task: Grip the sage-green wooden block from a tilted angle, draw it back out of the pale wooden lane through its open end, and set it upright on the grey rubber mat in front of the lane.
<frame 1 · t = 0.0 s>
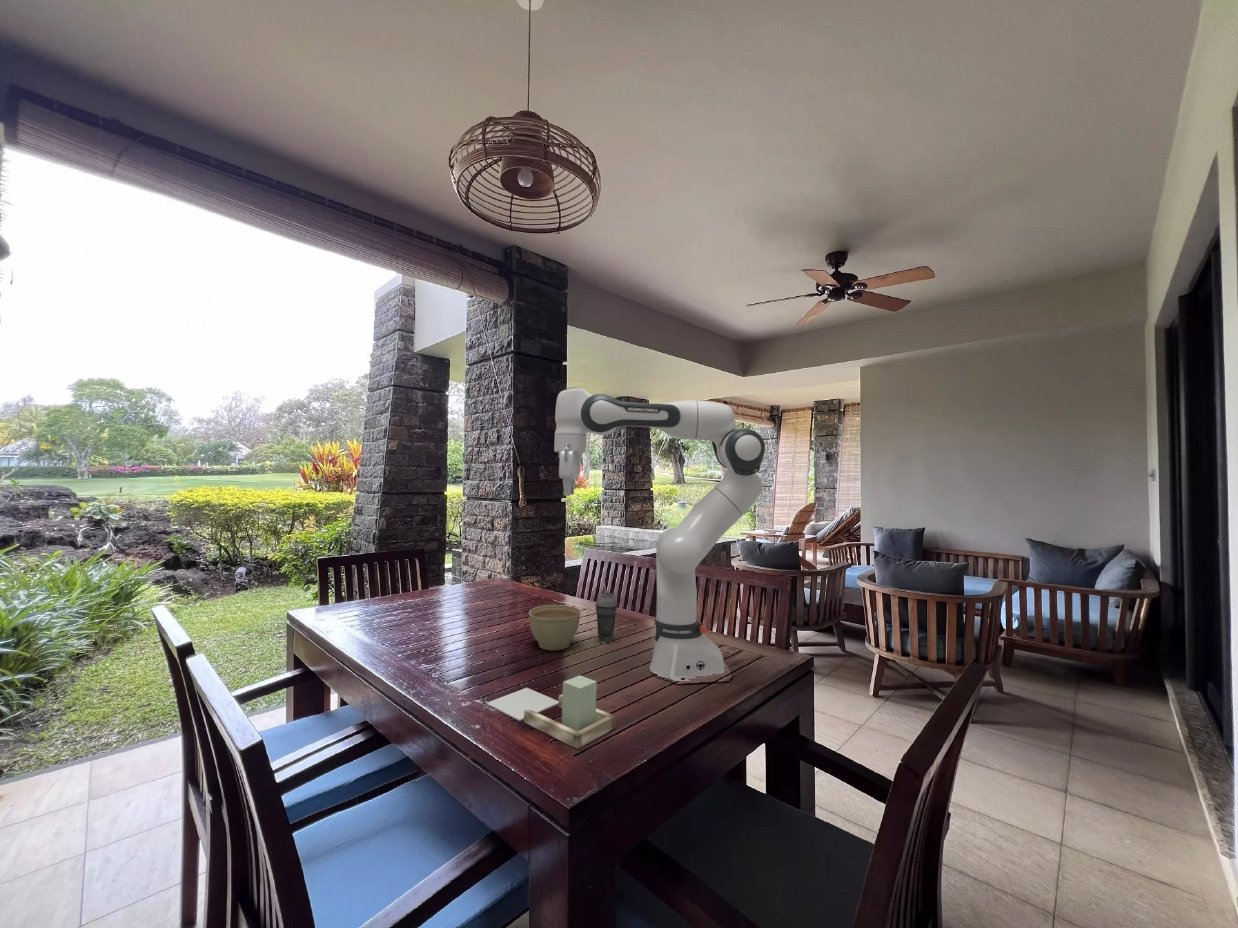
hand: (568, 495, 143), 48 cm above the table, tool pointing down, fingers open, 8 cm apart
planter bowl: (554, 646, 160), on the table
lane: (572, 726, 109), on the table
mat: (523, 703, 119), on the table
block: (578, 729, 107), resting in lane
beverage cup: (605, 641, 166), on the table
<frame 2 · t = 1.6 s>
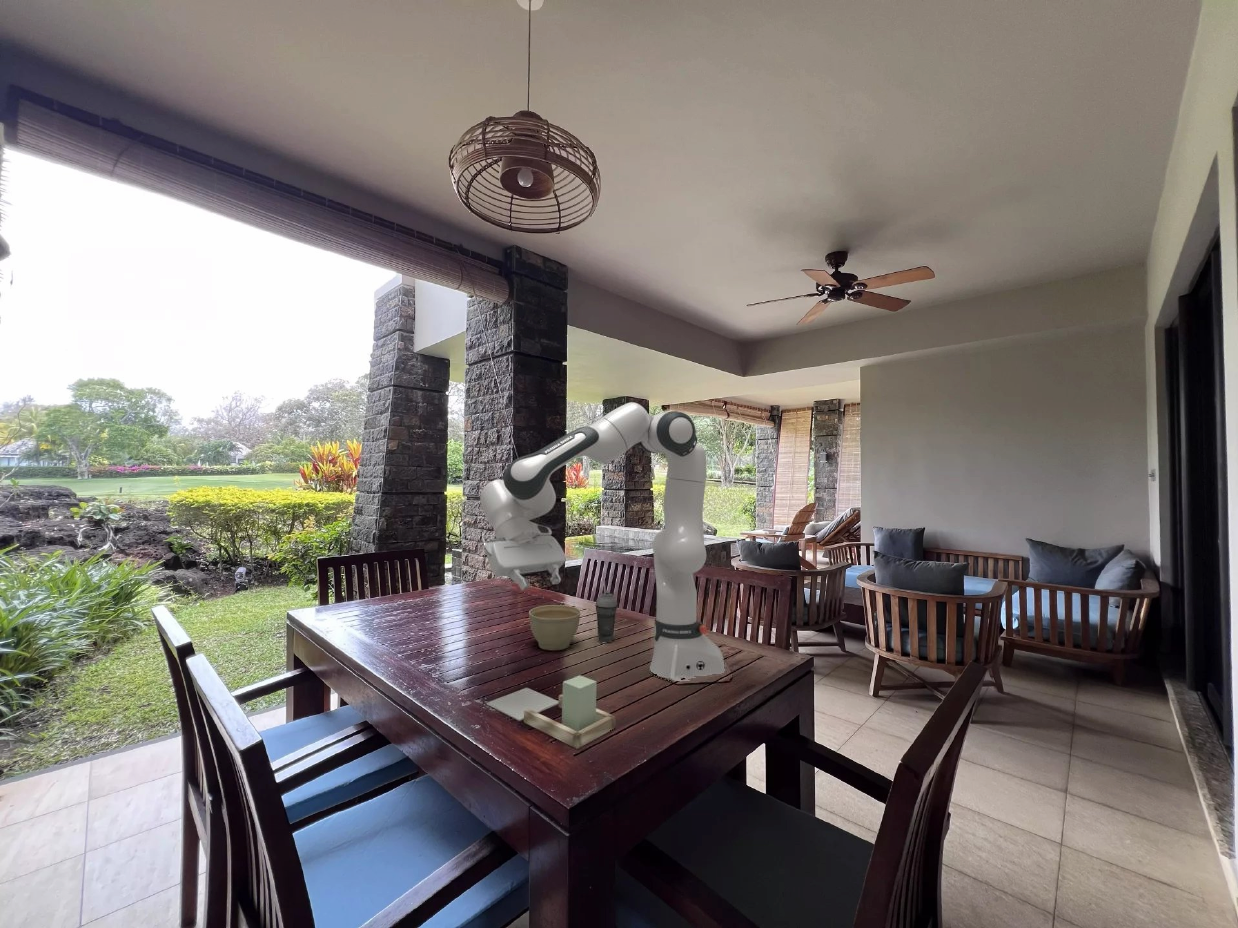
hand: (542, 585, 117), 28 cm above the table, tool tilted 45°, fingers open, 8 cm apart
nothing on the table moved.
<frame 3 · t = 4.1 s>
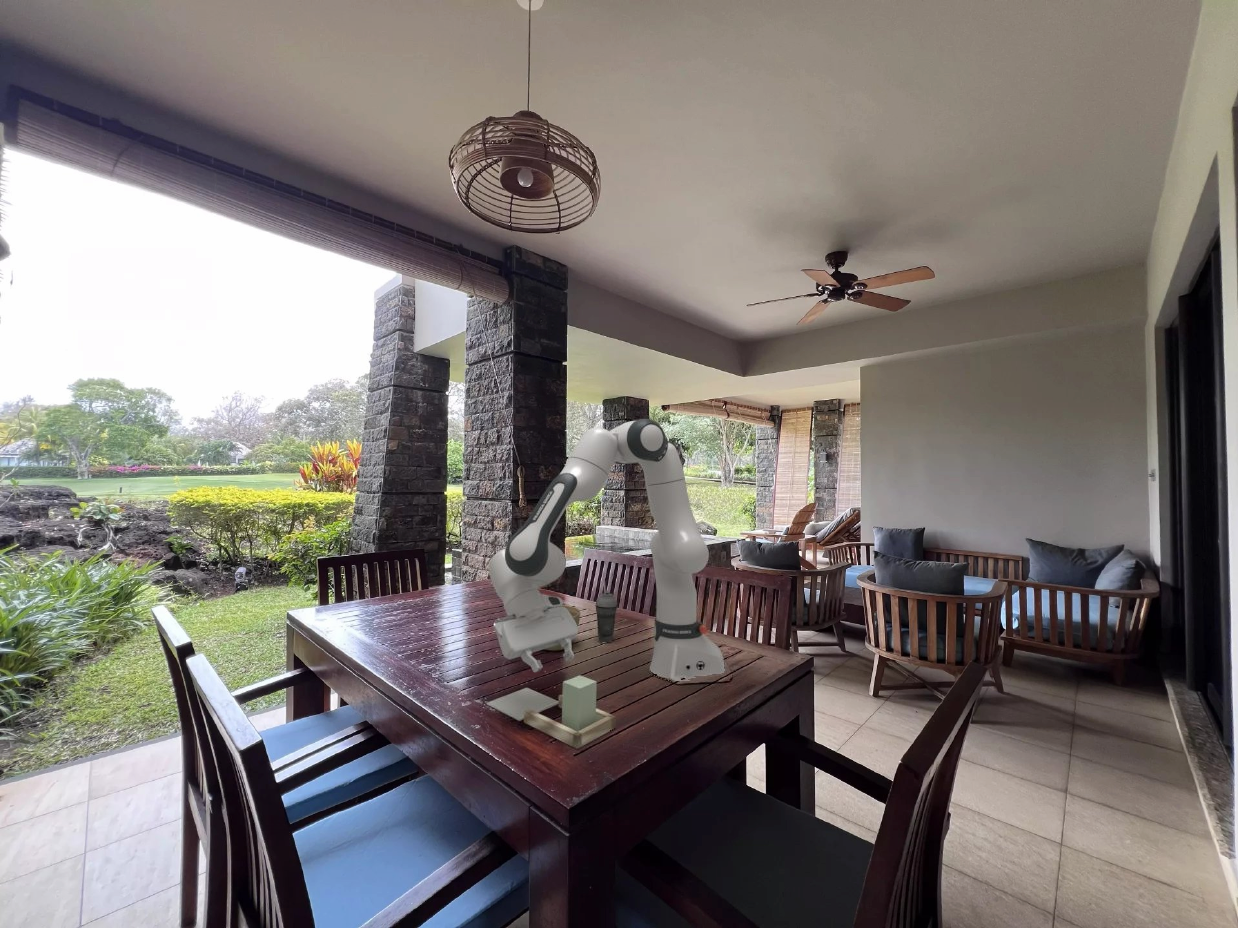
hand: (555, 664, 112), 12 cm above the table, tool tilted 45°, fingers open, 8 cm apart
nothing on the table moved.
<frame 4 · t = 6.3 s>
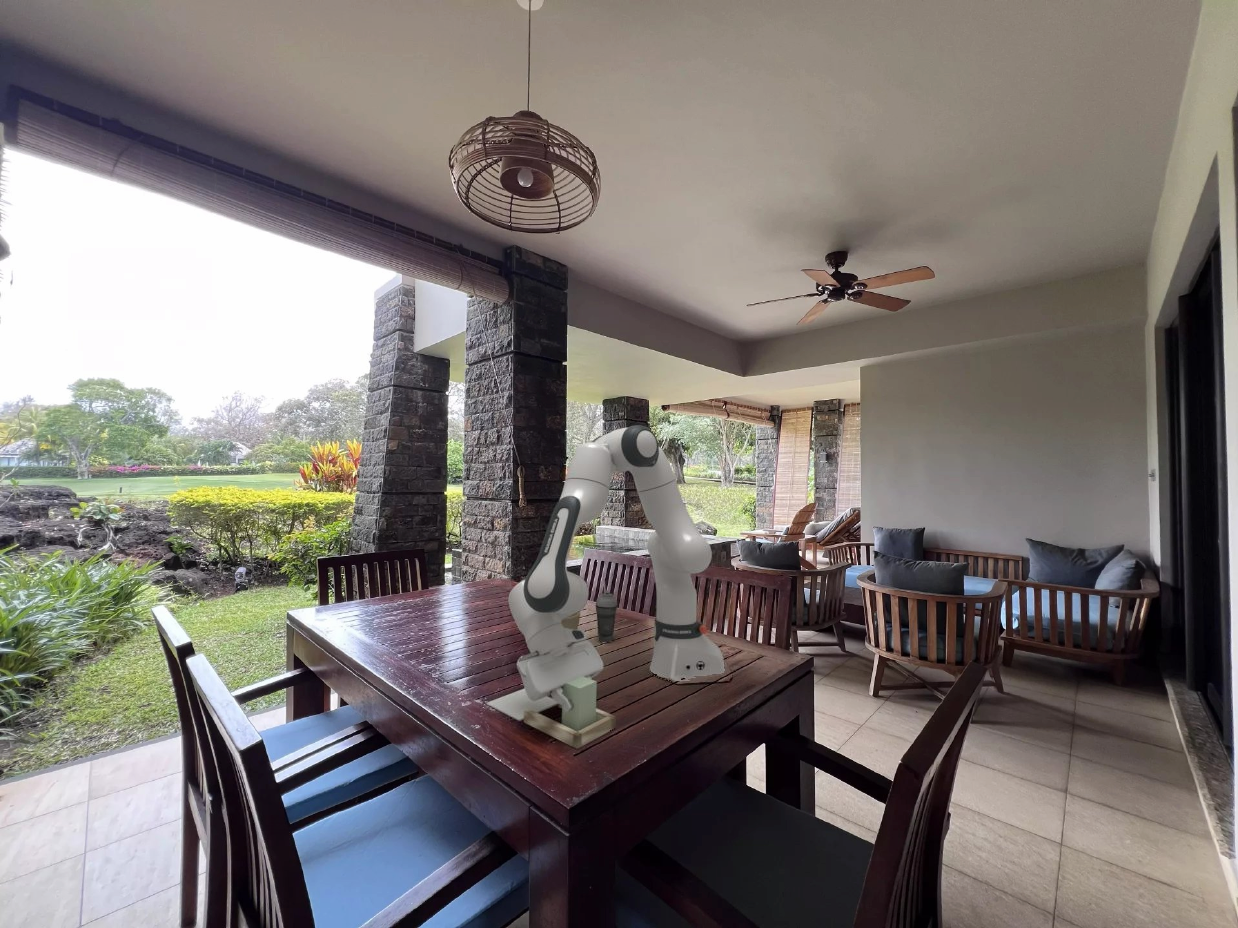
hand: (581, 704, 107), 5 cm above the table, tool tilted 45°, fingers closed on block, 5 cm apart
block: (578, 729, 107), resting in lane, touching gripper
everything else where it was.
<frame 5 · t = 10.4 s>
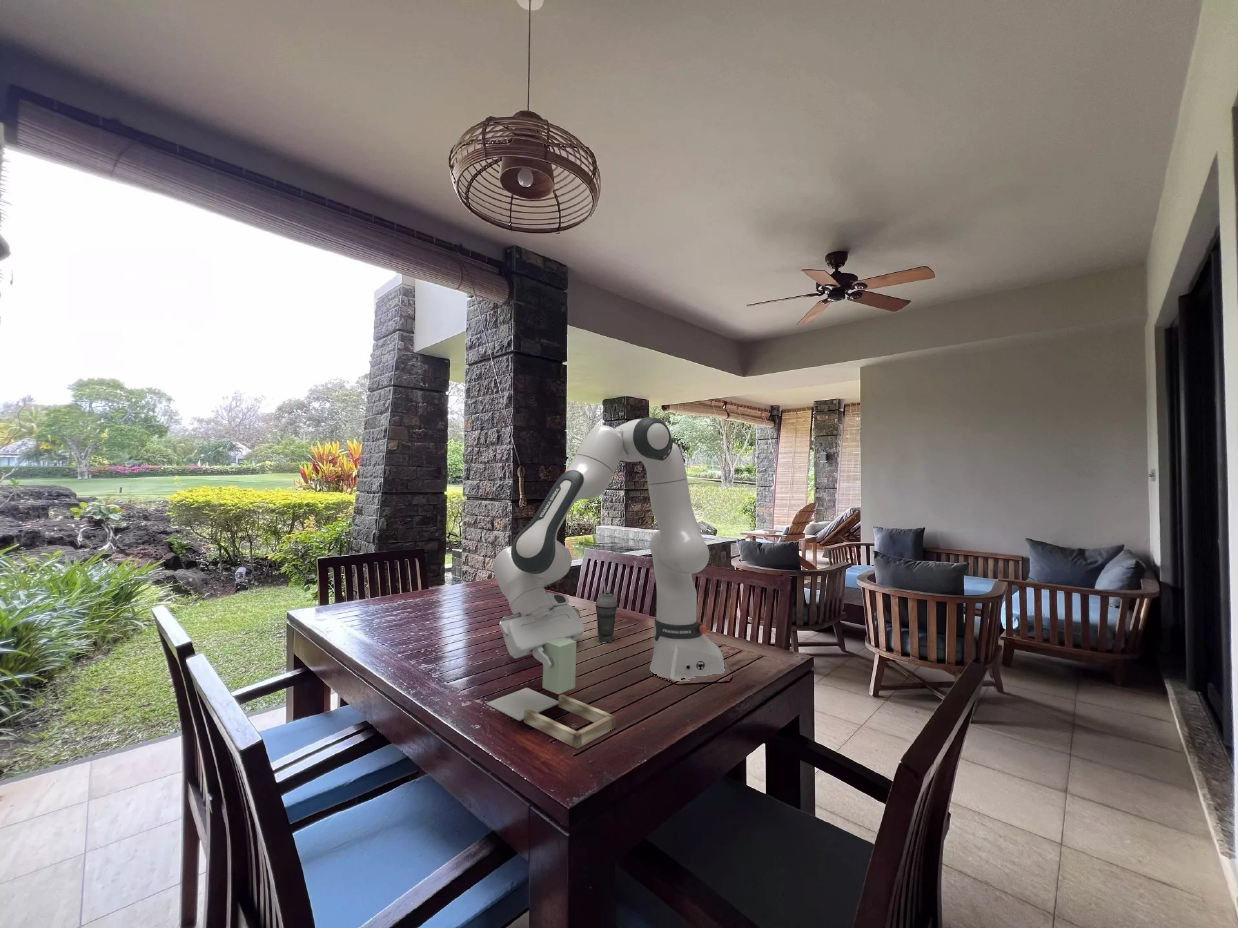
hand: (561, 663, 111), 12 cm above the table, tool tilted 45°, fingers closed on block, 5 cm apart
block: (558, 687, 111), point 7 cm above the table, touching gripper
everything else where it was.
when the fingers open (7 cm above the table, at t = 14.2 s): block drops 1 cm, resting on mat.
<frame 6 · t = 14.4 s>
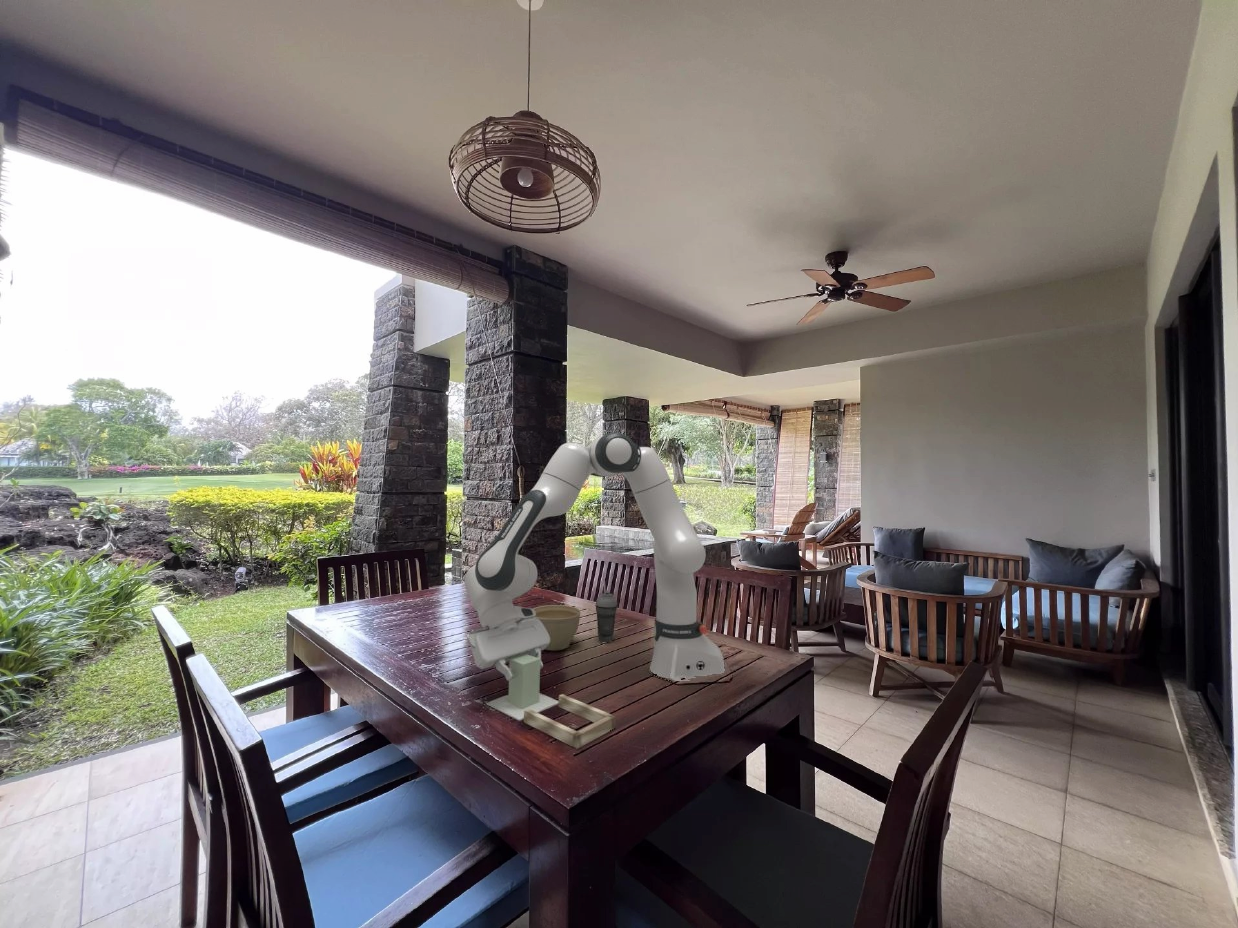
hand: (526, 673, 119), 7 cm above the table, tool tilted 45°, fingers open, 7 cm apart
block: (523, 702, 119), resting on mat
everything else where it was.
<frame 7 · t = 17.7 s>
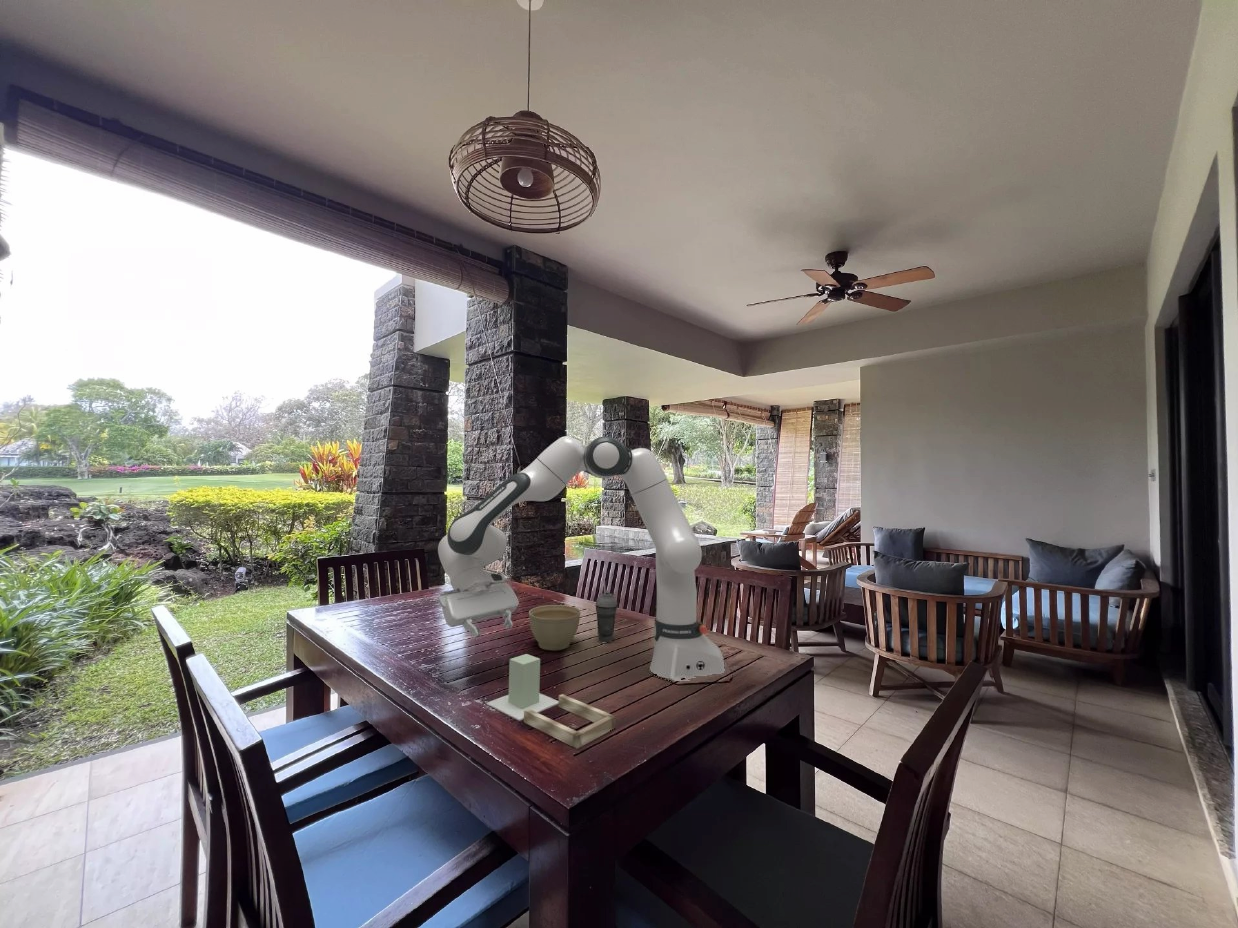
hand: (494, 631, 127), 14 cm above the table, tool tilted 45°, fingers open, 8 cm apart
nothing on the table moved.
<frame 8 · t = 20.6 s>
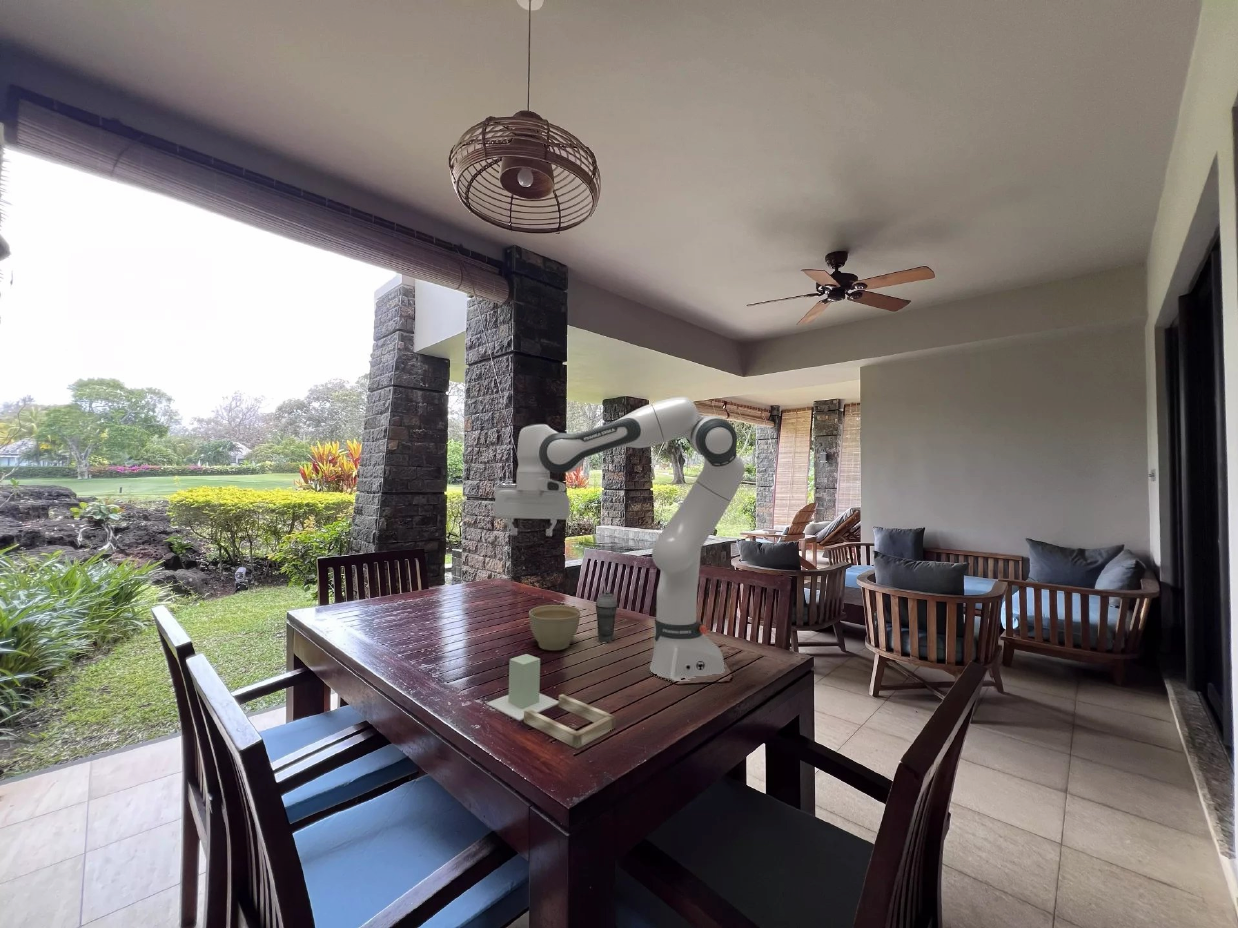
hand: (531, 535, 137), 37 cm above the table, tool pointing down, fingers open, 8 cm apart
nothing on the table moved.
at the end: block inside the target area on the mat (0.1 cm from its centre), point 0.3 cm above the mat's base; block tilted 0°; the gripper is holding nothing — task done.
